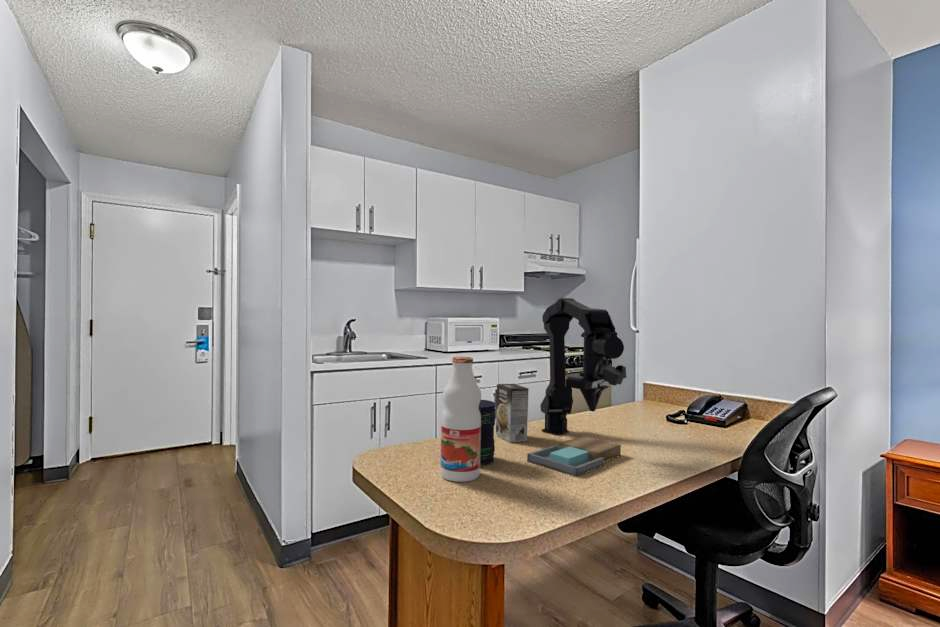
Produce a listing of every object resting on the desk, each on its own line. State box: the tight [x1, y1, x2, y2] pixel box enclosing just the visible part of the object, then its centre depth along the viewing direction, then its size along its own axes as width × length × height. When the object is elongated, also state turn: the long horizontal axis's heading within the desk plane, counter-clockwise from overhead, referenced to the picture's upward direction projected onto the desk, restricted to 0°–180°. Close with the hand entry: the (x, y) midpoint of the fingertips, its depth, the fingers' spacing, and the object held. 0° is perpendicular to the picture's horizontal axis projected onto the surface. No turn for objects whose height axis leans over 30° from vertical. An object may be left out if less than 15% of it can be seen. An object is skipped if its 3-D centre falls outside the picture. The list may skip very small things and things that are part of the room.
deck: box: [560, 435, 622, 462], centre depth 133 cm, size 12×11×3 cm
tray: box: [526, 444, 605, 477], centre depth 125 cm, size 15×12×2 cm
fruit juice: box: [439, 356, 482, 483], centre depth 115 cm, size 9×9×28 cm
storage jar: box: [479, 399, 496, 466], centre depth 127 cm, size 10×10×15 cm
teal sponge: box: [550, 447, 589, 466], centre depth 126 cm, size 6×9×2 cm, turn 134°
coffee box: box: [495, 383, 530, 444], centre depth 148 cm, size 9×6×16 cm
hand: (592, 411), depth 134 cm, fingers closed
